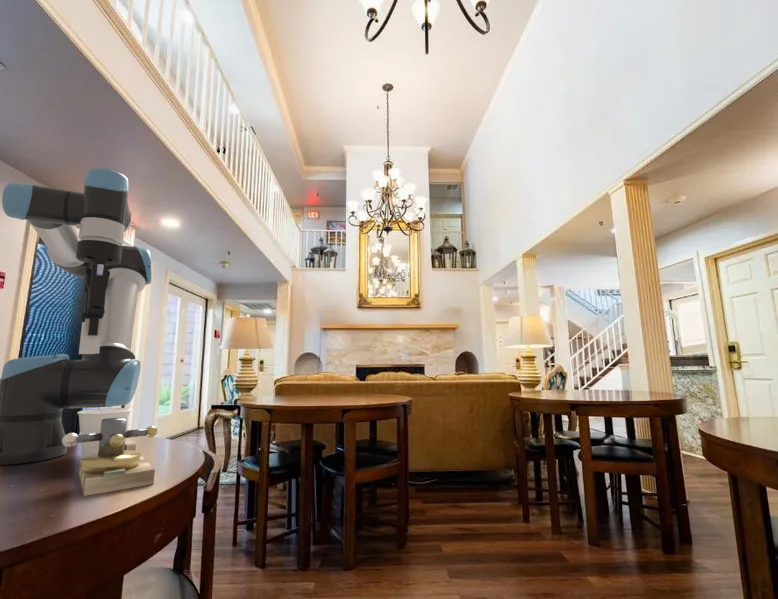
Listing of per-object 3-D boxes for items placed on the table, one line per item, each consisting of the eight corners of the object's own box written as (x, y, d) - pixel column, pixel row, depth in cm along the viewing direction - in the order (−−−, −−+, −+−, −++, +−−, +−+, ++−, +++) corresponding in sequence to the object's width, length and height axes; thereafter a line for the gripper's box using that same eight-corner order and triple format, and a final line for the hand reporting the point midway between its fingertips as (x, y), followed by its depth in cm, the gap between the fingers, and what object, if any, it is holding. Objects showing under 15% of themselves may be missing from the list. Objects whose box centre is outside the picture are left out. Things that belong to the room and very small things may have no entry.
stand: (78, 472, 79) (81, 447, 80) (137, 464, 86) (139, 440, 86) (84, 496, 66) (87, 464, 66) (153, 484, 72) (155, 455, 73)
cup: (98, 469, 82) (104, 413, 84) (59, 466, 84) (65, 412, 86) (137, 457, 92) (141, 408, 93) (101, 455, 94) (106, 407, 95)
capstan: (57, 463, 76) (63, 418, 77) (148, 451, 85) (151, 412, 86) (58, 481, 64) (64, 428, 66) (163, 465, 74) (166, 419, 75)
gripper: (75, 251, 88) (63, 354, 85) (80, 226, 72) (65, 352, 69) (116, 256, 93) (106, 354, 90) (129, 234, 77) (117, 353, 74)
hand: (88, 353), depth 79 cm, fingers open, 9 cm apart
